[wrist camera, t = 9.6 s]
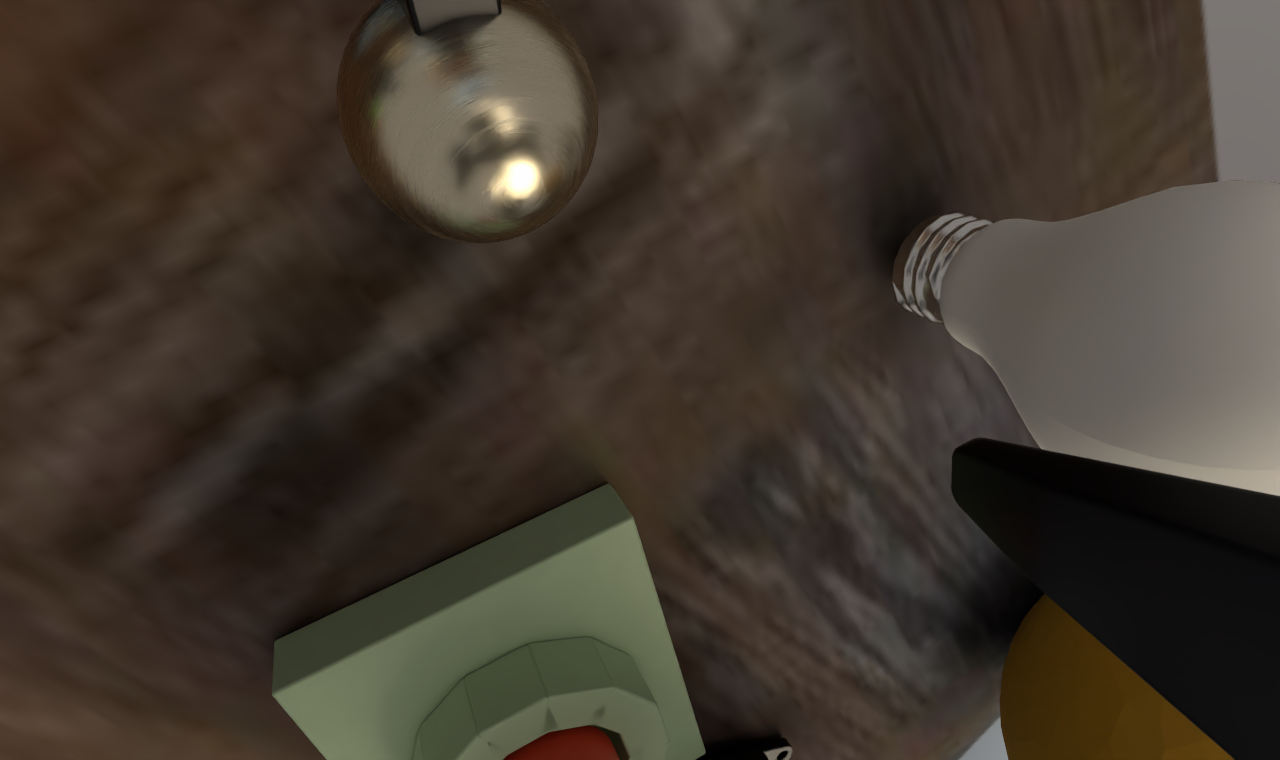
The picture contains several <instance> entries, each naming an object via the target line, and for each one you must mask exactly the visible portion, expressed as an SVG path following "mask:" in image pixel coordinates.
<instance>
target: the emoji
mask: <svg viewBox="0 0 1280 760" xmlns="http://www.w3.org/2000/svg"><path fill="white" fill-rule="evenodd" d="M1000 716H1001V728H1002V733H1003V738H1004V742H1005V746H1006V750H1007V755H1008V759H1009V760H1234V759H1233V758H1232V757H1231V756H1230V755H1229V754H1227V753H1226V752H1225V751H1224V750H1223V749H1222V748H1221V747H1219V746H1218V745H1217V744H1216V743H1215V742H1214V741H1213V740H1211V739H1210V738H1209V737H1208V736H1207V735H1206V734H1205V733H1203V732H1202V731H1201V730H1200V729H1199V728H1198V727H1197V726H1195V725H1194V724H1193V723H1192V722H1191V721H1190V720H1189V719H1187V718H1186V717H1185V716H1184V715H1183V714H1182V713H1180V712H1179V711H1178V710H1177V709H1176V708H1175V707H1174V706H1172V705H1171V704H1170V703H1169V702H1168V701H1167V700H1166V699H1164V698H1163V697H1162V696H1161V695H1160V694H1159V693H1158V692H1156V691H1155V690H1154V689H1153V688H1152V687H1151V686H1150V685H1148V684H1147V683H1146V682H1145V681H1144V680H1143V679H1142V678H1140V677H1139V676H1138V675H1137V674H1136V673H1135V672H1134V671H1132V670H1131V669H1130V668H1129V667H1128V666H1127V665H1126V664H1124V663H1123V662H1122V661H1121V660H1120V659H1119V658H1118V657H1116V656H1115V655H1114V654H1113V653H1112V652H1111V651H1110V650H1108V649H1107V648H1106V647H1105V646H1104V645H1103V644H1102V643H1100V642H1099V641H1098V640H1097V639H1096V638H1095V637H1094V636H1092V635H1091V634H1090V633H1089V632H1088V631H1087V630H1086V629H1084V628H1083V627H1082V626H1081V625H1080V624H1079V623H1078V622H1076V621H1075V620H1074V619H1073V618H1072V617H1071V616H1070V615H1068V614H1067V613H1066V612H1065V611H1064V610H1063V609H1062V608H1060V607H1059V606H1058V605H1057V604H1056V603H1055V602H1054V601H1052V600H1051V599H1050V598H1049V597H1048V596H1047V595H1046V594H1044V595H1043V596H1042V597H1041V598H1040V599H1039V600H1038V601H1037V602H1036V603H1035V604H1034V606H1033V607H1032V608H1031V610H1030V611H1029V612H1028V614H1027V615H1026V616H1025V618H1024V619H1023V621H1022V622H1021V624H1020V626H1019V628H1018V630H1017V632H1016V634H1015V636H1014V638H1013V640H1012V642H1011V645H1010V648H1009V651H1008V654H1007V657H1006V660H1005V663H1004V667H1003V673H1002V683H1001V694H1000Z"/></svg>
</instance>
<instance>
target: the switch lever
mask: <svg viewBox="0 0 1280 760" xmlns="http://www.w3.org/2000/svg"><path fill="white" fill-rule="evenodd" d="M337 107H338V116H339V122H340V127H341V131H342V135H343V138H344V141H345V144H346V146H347V149H348V152H349V155H350V157H351V158H352V160H353V162H354V164H355V166H356V168H357V170H358V171H359V173H360V175H361V177H362V178H363V180H364V181H365V182H366V184H367V185H368V186H369V188H370V189H371V190H372V191H373V192H374V194H375V195H376V196H377V197H378V198H379V199H380V200H381V201H382V202H383V203H384V204H385V205H386V206H387V207H388V208H389V209H391V210H392V211H393V212H394V213H395V214H397V215H398V216H399V217H401V218H402V219H404V220H405V221H406V222H408V223H410V224H412V225H414V226H416V227H418V228H419V229H421V230H423V231H425V232H427V233H430V234H433V235H435V236H438V237H441V238H445V239H449V240H453V241H457V242H466V243H493V242H500V241H505V240H509V239H513V238H516V237H519V236H521V235H524V234H526V233H529V232H531V231H533V230H535V229H536V228H538V227H540V226H542V225H543V224H545V223H546V222H548V221H549V220H550V219H552V218H553V217H554V216H555V215H557V214H558V213H559V212H560V211H561V210H562V209H563V208H564V207H565V206H566V205H567V204H568V203H569V201H570V200H571V199H572V198H573V196H574V195H575V193H576V192H577V191H578V189H579V187H580V185H581V184H582V182H583V180H584V178H585V176H586V174H587V172H588V170H589V167H590V165H591V161H592V158H593V155H594V151H595V146H596V141H597V135H598V105H597V97H596V91H595V86H594V83H593V79H592V75H591V72H590V70H589V67H588V64H587V62H586V60H585V57H584V55H583V53H582V51H581V49H580V47H579V46H578V44H577V42H576V41H575V39H574V38H573V36H572V35H571V33H570V31H569V30H568V28H567V27H566V26H565V25H564V24H563V23H562V22H561V20H560V19H559V18H558V17H557V16H556V15H555V14H554V13H553V12H552V11H551V10H550V9H549V8H548V7H547V6H546V5H545V4H543V3H542V2H541V1H540V0H377V1H376V2H375V3H374V4H373V5H372V6H371V7H370V8H369V9H368V11H367V12H366V13H365V14H364V15H363V16H362V18H361V19H360V21H359V23H358V24H357V26H356V27H355V29H354V31H353V32H352V34H351V36H350V38H349V40H348V42H347V45H346V47H345V49H344V53H343V56H342V60H341V63H340V68H339V74H338V82H337Z"/></svg>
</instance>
